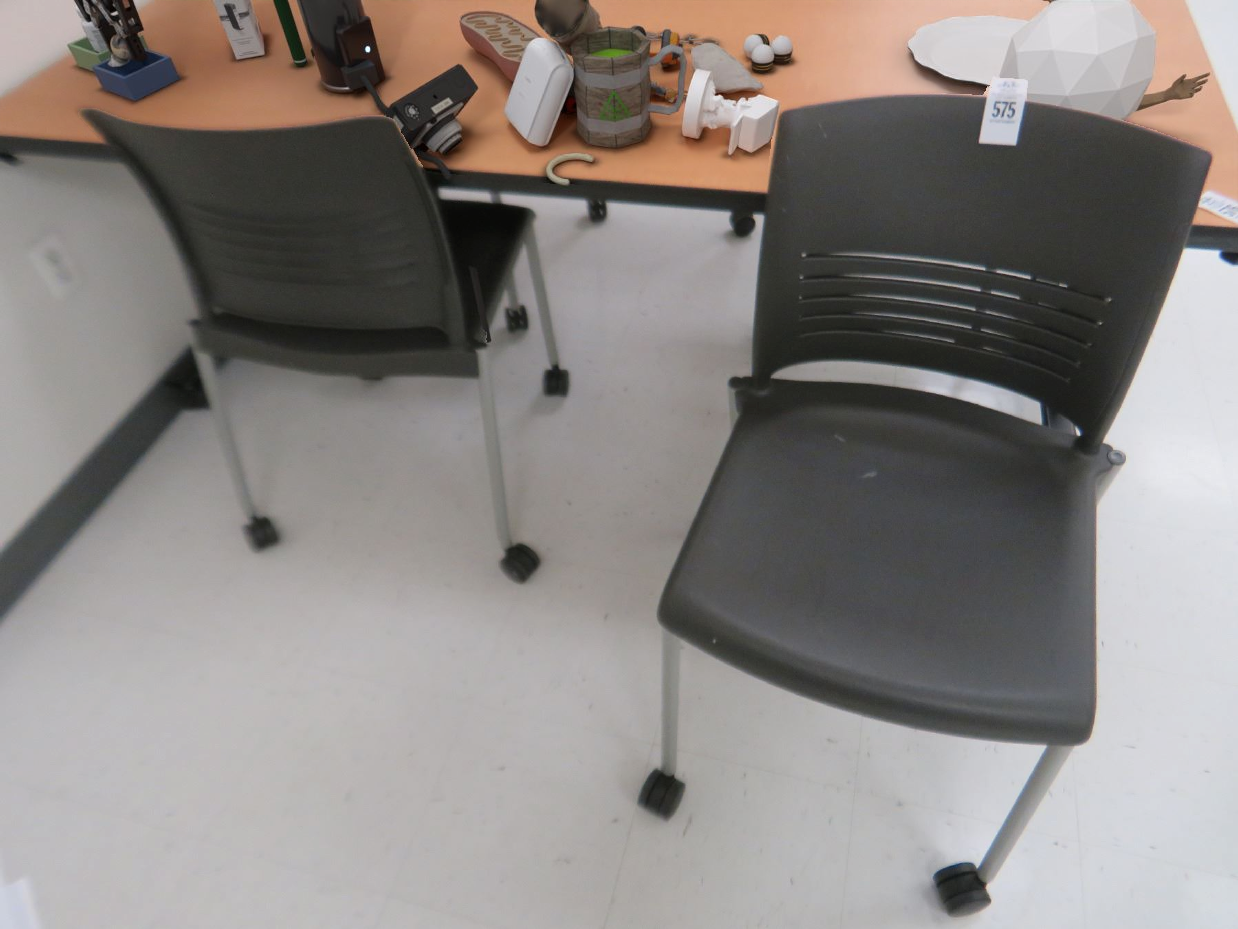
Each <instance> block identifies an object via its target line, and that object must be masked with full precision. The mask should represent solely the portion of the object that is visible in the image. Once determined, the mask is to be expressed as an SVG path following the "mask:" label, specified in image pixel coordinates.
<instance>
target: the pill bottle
mask: <svg viewBox="0 0 1238 929" xmlns="http://www.w3.org/2000/svg"><path fill="white" fill-rule="evenodd" d="M74 10H75V11H76V14H77V15H78V17H79V18H80V22H79V23H80V26H81V28H82V30H83V32H84V34H85V36H87V38H88V39H89V41H90V43H91V45H92V47H93V49H94V51H95V52H96V53H98V54H99V53H101V52H103V51H105V50H107V49H108V48H107V46H106V44H105V42H104V40H103V38H102V36H101V34H100V32H99V29H96V28H95V27H94V25H93V24H92V22H89V23H88V22H87V21H86V20H85V19H84V17H83V15H82V13H81V12H80V10H79V8H78V7H77V5H76V6H75V9H74ZM110 25H113V26H114V24H110ZM114 28H115V30H116V32H117V34H119V33H118V31H117V29H116V27H115V26H114Z"/></svg>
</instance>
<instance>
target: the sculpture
mask: <svg viewBox="0 0 1238 929" xmlns="http://www.w3.org/2000/svg"><path fill="white" fill-rule="evenodd" d="M534 16H535V20H536V22H537V24H538V25H539V27H540V28H541V29H542V30H544V32H545V34H547V35H548V36H549V38H550V39H552V40H553V41H554V42H556V43H557V44H559V45H560V46H561V47H562V48H563V50H564V51H565V52H566V54H567V55H568V56H570V57H572V53H571V48H570V46H571V44H572V43H573V42H574V41H575V40H576V39H577V37H578V36H579V35H580V34H581V33H583V32H587V31H591V30H595V29H600V28H603V24H602V22H601V19H600V18H601V16H600V13H599V12H598V10H596V8H594V7H593V6H592V5H591V3H590V0H535V5H534Z"/></svg>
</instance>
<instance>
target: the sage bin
mask: <svg viewBox="0 0 1238 929" xmlns="http://www.w3.org/2000/svg"><path fill="white" fill-rule="evenodd" d="M116 29H117V28H116ZM117 31H118V30H117ZM118 33H119V31H118ZM119 34H120V33H119ZM138 36H139V38H140V40H141V42H142V45H143V47H144V48H146V49H149V50H150V48H149V46H148V43H147V41H146V39H145V37H144V35H143V34H140V33H138ZM66 46H67V47H68V50H69V51H70V53H71V56H72V57H73V59H74V61H75V62H76V65H77V66H78V67H80V68H83V69H85V70H87V71H90V72H93V73H95V72H94V71H93V69H92V66H94V65H97V64H99V63H101V62H103V61H105V59H106V60H107V59H110V58H111V55H112V54H113V53H111V52H110V51H109V49H107V50H105V51H103V52H101V53H99V54H98V53H96V52H95V51H94V49H93V47H92V45H91V43H90V41H89V39H88V38H87V36H86V35H85V36H83V37H81V38H78V39H77V40H74V41H71V42H70V43H67V44H66ZM108 57H109V58H108Z"/></svg>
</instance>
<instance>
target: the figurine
mask: <svg viewBox="0 0 1238 929" xmlns="http://www.w3.org/2000/svg"><path fill="white" fill-rule="evenodd" d="M687 94H688V90H684V98H685V97H686V98H687ZM650 95H656V96H659V97H664V99H665V100H666V101H668V102H669V103H671V104H673V102H675V101H676V99H677V98H676V97H677V96H678V90H676V89H675V88H672V87H671V88H668V89H667V88H666V87H665V86H660V85H658V80H653V81H652V80H651V93H650Z"/></svg>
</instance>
